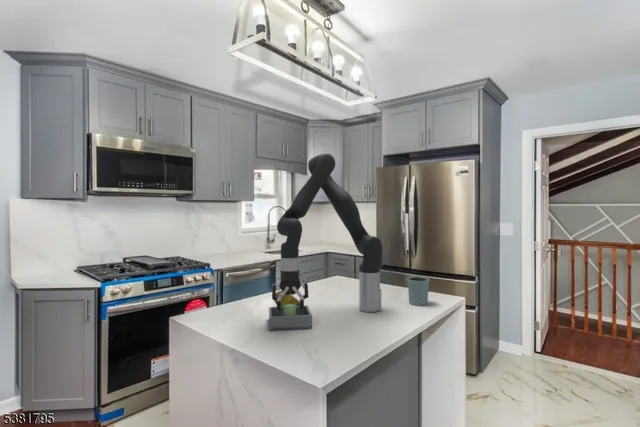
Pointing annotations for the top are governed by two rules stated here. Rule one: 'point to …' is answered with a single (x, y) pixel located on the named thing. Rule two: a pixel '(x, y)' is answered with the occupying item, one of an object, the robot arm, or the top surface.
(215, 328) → the top surface
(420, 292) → the teal cup
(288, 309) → the cucumber chunk
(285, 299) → the potato
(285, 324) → the bin
